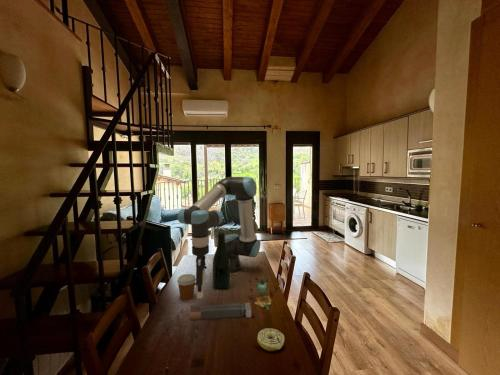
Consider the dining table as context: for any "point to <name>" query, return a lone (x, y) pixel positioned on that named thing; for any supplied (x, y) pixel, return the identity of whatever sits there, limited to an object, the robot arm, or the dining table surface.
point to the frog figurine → (262, 300)
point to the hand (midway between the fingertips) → (201, 289)
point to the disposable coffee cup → (186, 286)
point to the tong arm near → (217, 312)
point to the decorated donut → (268, 343)
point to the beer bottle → (221, 265)
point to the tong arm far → (218, 306)
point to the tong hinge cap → (247, 310)
